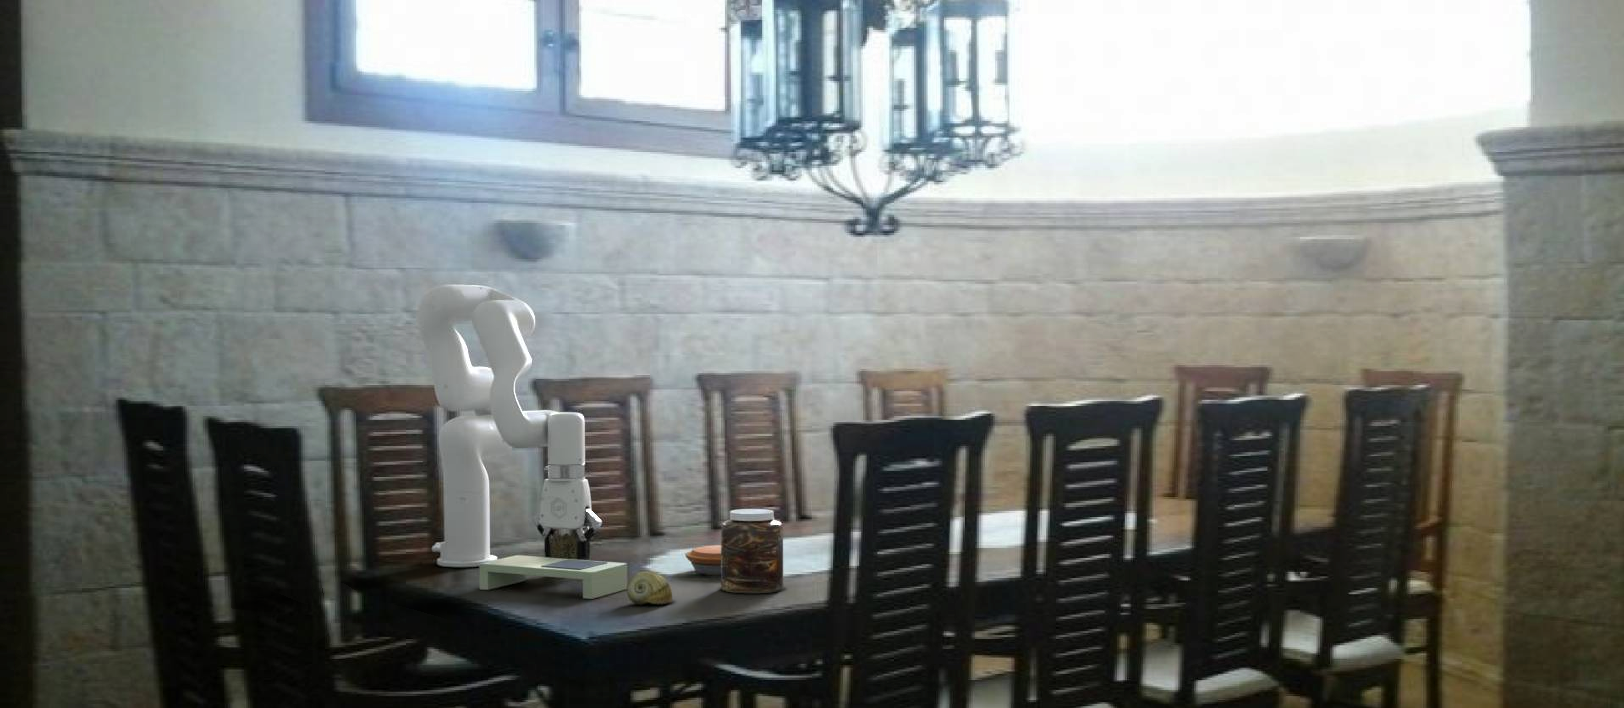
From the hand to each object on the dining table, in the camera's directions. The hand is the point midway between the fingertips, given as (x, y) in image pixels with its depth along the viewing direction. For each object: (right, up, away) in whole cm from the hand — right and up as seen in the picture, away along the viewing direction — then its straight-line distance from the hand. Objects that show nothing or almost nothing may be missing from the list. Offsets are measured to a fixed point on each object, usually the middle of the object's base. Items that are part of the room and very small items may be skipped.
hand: (567, 558), depth 311 cm
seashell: (+20, -4, -33) cm, 39 cm away
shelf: (0, -4, -18) cm, 18 cm away
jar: (+39, -4, -19) cm, 43 cm away
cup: (0, -4, 0) cm, 4 cm away
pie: (+32, -3, +4) cm, 32 cm away
